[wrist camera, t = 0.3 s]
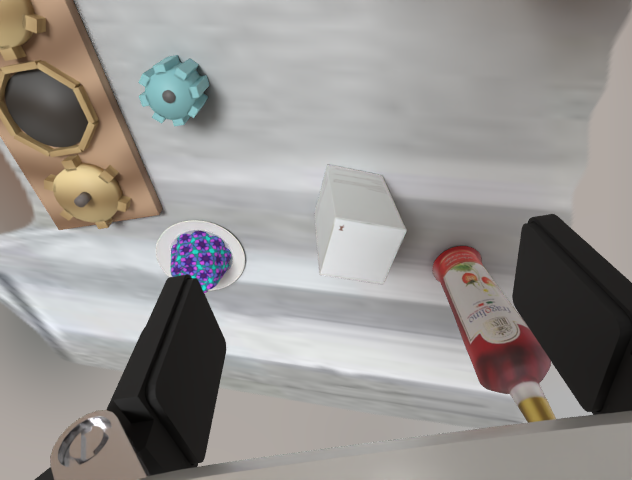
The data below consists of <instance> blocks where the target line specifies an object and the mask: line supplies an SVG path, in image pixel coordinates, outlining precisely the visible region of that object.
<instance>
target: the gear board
mask: <svg viewBox="0 0 632 480" xmlns="http://www.w3.org/2000/svg"><path fill="white" fill-rule="evenodd" d="M0 136H1V138H2V140H3V141H4V143H5V144H6V146H7V148H8V149H9V151H10V152H11V154H12V156H13V157H14V159H15V160H16V162H17V164H18V165H19V167H20V168H21V170H22V172H23V173H24V175H25V176H26V178H27V180H28V181H29V183H30V184H31V186H32V188H33V189H34V191H35V192H36V194H37V196H38V197H39V199H40V200H41V202H42V204H43V205H44V207H45V208H46V210H47V212H48V213H49V215H50V216H51V218H52V220H53V221H54V223H55V224H56V226H57V227H58V229H59V230H63V229H69V228H76V227H83V226H89V225H97V227H98V229H102V228H108V227H109V226H110V224H111V223H112V222H116V221H122V220H129V219H136V218H142V217H149V216H155V215H159V214H160V213H161V211H162V206H161V204H160V202H159V199H158V197H157V195H156V192H155V190H154V188H153V185H152V183H151V181H150V178H149V176H148V174H147V171H146V169H145V167H144V164H143V162H142V160H141V157H140V155H139V153H138V150H137V148H136V146H135V143H134V141H133V139H132V136H131V134H130V132H129V129H128V127H127V125H126V122H125V120H124V118H123V115H122V113H121V111H120V109H119V106H118V104H117V102H116V99H115V97H114V95H113V92H112V90H111V88H110V85H109V83H108V81H107V78H106V76H105V74H104V71H103V69H102V67H101V64H100V62H99V60H98V57H97V55H96V53H95V50H94V48H93V46H92V43H91V41H90V39H89V36H88V34H87V32H86V29H85V27H84V25H83V22H82V20H81V18H80V15H79V13H78V11H77V8H76V6H75V4H74V1H73V0H0Z"/></svg>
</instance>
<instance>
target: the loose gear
mask: <svg viewBox="0 0 632 480" xmlns="http://www.w3.org/2000/svg"><path fill="white" fill-rule="evenodd" d="M198 65H199V64H197V63H196V62H195V61H193V60H192V59H188V60H187V61H185V62H184V63H182V62H180V61H179V58H178V55H176V56H170V57H167V58H165V59H164V60H162V61H160V62H159V63H157V64H155V65H154V66H153V68H151V69H149V70H148V71H146V72H144V73H143V74H142V76H141V79H140V81H139V83H140V84H141V85H143V86H144V87H145V92H143V93H142V94H141V95H139V98H140V101H141V103H142V106H143V107H144V106H150V107H151V108H152V110H153V111H154V112H155V113H154V115H153V117H152V118H154V119H155V120H157V121H159V122H160V123H163V122H164V120H165V119H170V120H172V121H173V124H174V126H179V125H184V124H185V123H186V122H187V120H188V119H189V118H190V117H193V118H194V117H195V116H196V114H197V113H198V112H199V111H200V109H201V108H202V107H203V105H204V104H205V102H206V100H207V98H208V96H207V95H205V94H204V93H203V92H204V91H205V90H206V89H207V88H208V86H209V82H208V78H207V75H205V76H200V75H199V73H198V72H197V71H196V69H197V67H198Z"/></svg>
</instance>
